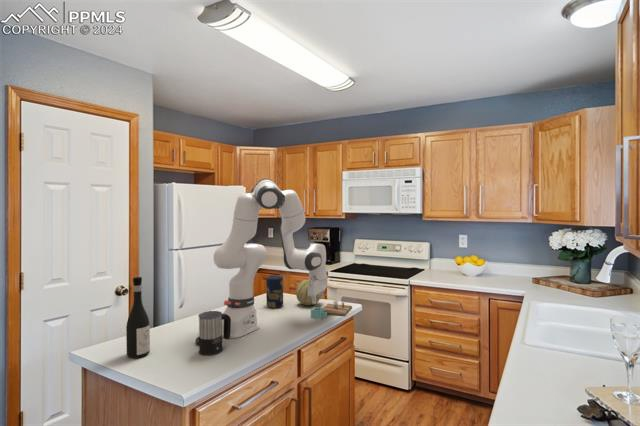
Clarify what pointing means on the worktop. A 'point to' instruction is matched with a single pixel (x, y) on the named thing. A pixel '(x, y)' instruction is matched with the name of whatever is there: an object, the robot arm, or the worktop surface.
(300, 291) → the cantaloupe
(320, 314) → the teal frame with handle
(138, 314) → the wine bottle
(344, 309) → the board
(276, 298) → the canister
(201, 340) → the milk frother
